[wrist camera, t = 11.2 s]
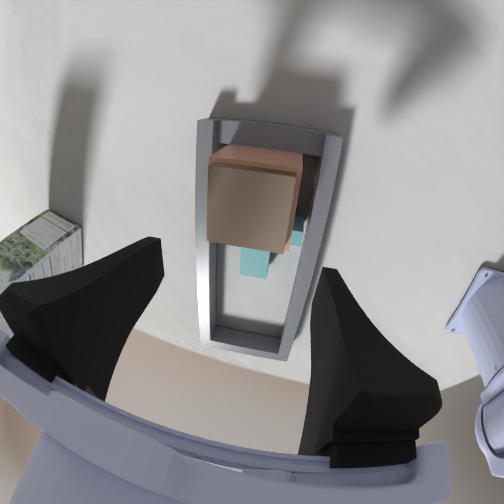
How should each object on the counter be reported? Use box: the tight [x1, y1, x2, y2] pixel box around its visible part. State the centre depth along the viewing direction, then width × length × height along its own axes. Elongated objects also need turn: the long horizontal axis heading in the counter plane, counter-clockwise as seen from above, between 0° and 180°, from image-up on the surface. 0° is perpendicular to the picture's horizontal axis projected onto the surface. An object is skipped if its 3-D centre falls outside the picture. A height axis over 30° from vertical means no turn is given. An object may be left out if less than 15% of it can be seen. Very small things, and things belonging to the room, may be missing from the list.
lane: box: [195, 118, 343, 361], centre depth 20 cm, size 8×20×2 cm, turn 175°
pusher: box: [240, 215, 304, 279], centre depth 19 cm, size 6×5×2 cm
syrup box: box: [0, 209, 83, 338], centre depth 18 cm, size 6×6×14 cm
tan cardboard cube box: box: [207, 144, 303, 254], centre depth 15 cm, size 4×4×6 cm
